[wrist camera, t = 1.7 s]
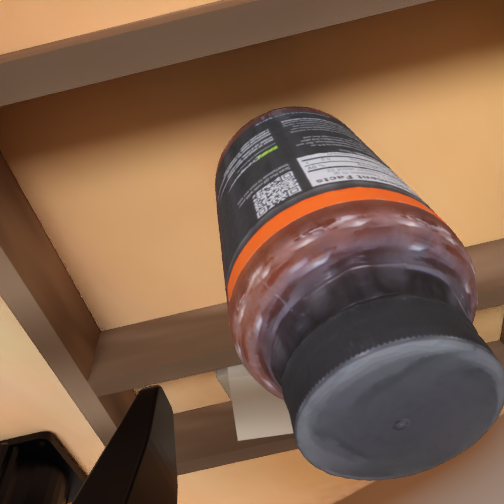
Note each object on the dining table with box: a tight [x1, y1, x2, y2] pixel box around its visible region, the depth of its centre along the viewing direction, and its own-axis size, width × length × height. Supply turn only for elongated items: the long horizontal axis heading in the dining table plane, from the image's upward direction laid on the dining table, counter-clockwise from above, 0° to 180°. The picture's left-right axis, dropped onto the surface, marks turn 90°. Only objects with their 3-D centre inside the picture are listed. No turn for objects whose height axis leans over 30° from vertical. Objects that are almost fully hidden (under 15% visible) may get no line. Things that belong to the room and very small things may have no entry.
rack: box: [0, 0, 504, 475], centre depth 18 cm, size 20×22×3 cm
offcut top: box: [228, 364, 293, 441], centre depth 20 cm, size 4×9×2 cm, turn 94°
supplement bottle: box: [215, 107, 504, 481], centre depth 13 cm, size 6×6×11 cm
